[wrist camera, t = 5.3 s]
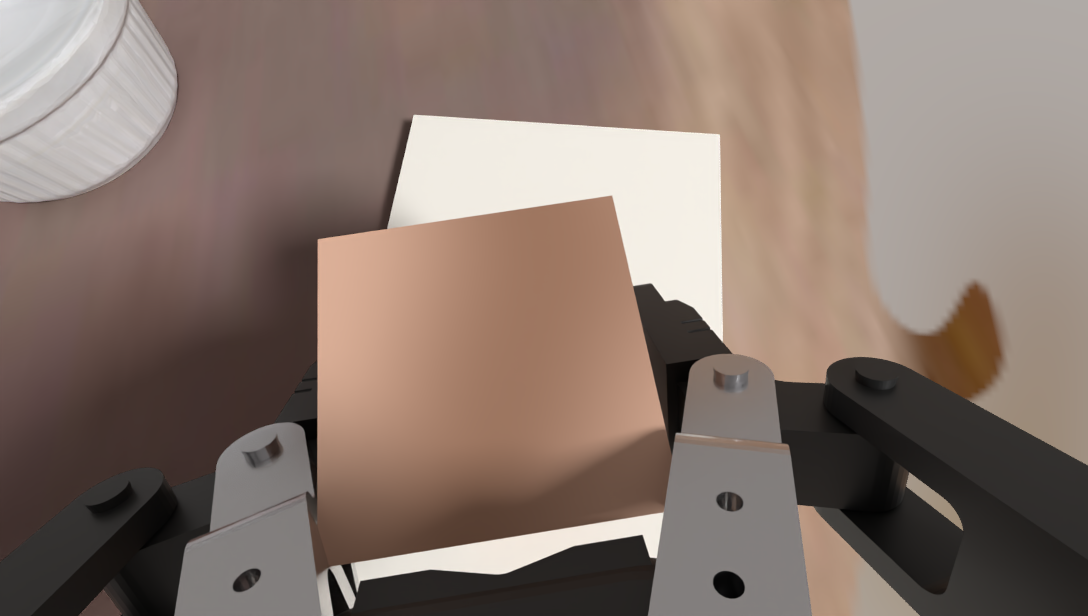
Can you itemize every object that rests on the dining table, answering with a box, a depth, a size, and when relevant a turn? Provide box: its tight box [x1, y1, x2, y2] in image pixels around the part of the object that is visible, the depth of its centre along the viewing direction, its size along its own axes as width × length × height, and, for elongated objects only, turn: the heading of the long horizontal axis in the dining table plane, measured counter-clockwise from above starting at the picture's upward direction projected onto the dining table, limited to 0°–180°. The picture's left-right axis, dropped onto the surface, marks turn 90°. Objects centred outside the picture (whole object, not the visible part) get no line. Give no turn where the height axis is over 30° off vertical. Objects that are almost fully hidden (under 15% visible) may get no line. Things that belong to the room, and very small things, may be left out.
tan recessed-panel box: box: [317, 196, 672, 567], centre depth 11 cm, size 4×4×10 cm
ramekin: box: [0, 0, 178, 203], centre depth 20 cm, size 11×11×5 cm
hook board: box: [355, 115, 723, 584], centre depth 14 cm, size 24×12×7 cm, turn 174°
